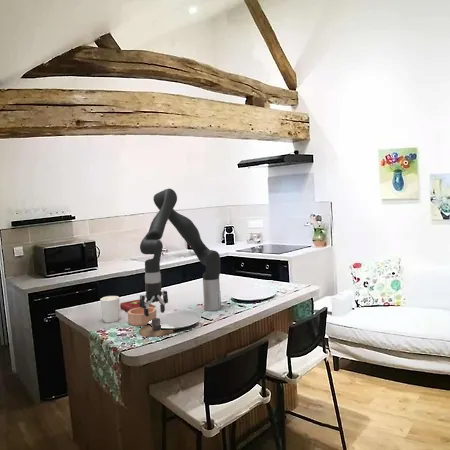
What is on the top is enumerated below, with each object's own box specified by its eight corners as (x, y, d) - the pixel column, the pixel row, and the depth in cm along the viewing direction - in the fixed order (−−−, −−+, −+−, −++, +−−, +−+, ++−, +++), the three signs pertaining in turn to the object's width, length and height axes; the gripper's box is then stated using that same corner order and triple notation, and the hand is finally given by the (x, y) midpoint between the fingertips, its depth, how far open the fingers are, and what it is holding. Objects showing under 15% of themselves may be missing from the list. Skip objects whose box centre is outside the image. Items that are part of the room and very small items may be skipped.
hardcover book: (136, 317, 241) (135, 309, 241) (120, 309, 258) (119, 302, 258) (155, 312, 248) (155, 305, 248) (139, 305, 265) (138, 298, 265)
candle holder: (122, 317, 241) (121, 295, 240) (118, 322, 231) (117, 300, 230) (104, 318, 241) (102, 296, 240) (99, 323, 231) (98, 301, 230)
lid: (177, 326, 222) (176, 313, 222) (170, 337, 205) (169, 324, 205) (144, 326, 224) (143, 314, 223) (134, 338, 207) (133, 325, 206)
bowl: (159, 317, 237) (158, 306, 236) (152, 325, 223) (151, 314, 222) (133, 318, 238) (132, 307, 237) (125, 326, 224) (124, 314, 224)
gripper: (161, 277, 220) (163, 309, 221) (135, 282, 211) (137, 315, 212) (169, 279, 214) (171, 312, 216) (143, 284, 205) (145, 319, 207)
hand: (154, 314), depth 214 cm, fingers open, 8 cm apart
